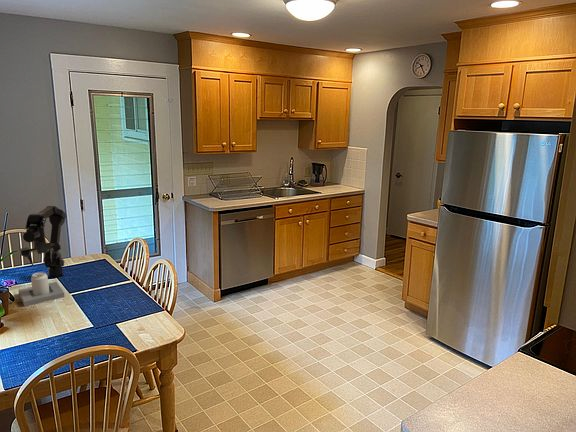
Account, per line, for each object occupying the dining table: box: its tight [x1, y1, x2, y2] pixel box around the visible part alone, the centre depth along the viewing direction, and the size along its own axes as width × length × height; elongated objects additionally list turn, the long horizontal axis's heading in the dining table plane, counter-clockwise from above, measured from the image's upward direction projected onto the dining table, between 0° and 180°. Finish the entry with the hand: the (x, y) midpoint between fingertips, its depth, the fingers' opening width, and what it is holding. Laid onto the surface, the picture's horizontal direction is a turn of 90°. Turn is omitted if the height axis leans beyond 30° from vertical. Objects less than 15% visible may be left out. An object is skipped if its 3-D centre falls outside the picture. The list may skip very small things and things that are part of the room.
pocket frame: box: [18, 281, 65, 307], centre depth 218 cm, size 18×18×2 cm
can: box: [30, 271, 49, 296], centre depth 217 cm, size 8×8×12 cm
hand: (42, 263), depth 227 cm, fingers open, 9 cm apart
